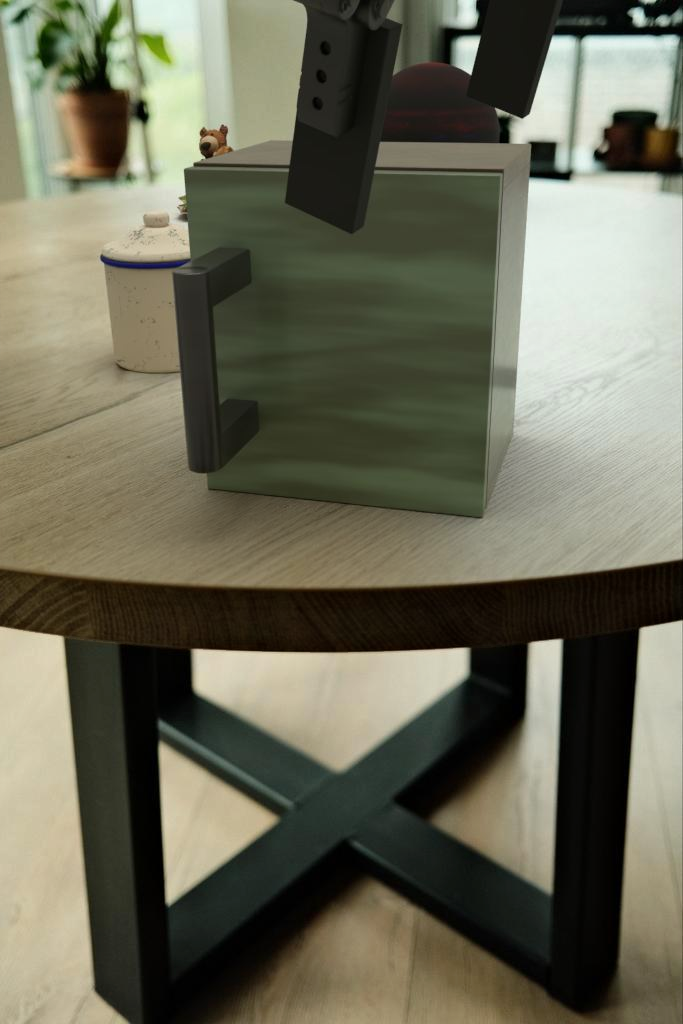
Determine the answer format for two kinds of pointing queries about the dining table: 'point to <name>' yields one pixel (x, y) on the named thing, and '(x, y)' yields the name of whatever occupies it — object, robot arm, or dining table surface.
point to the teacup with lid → (145, 293)
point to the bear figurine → (210, 150)
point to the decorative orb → (436, 108)
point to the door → (341, 339)
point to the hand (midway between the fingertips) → (420, 154)
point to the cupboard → (511, 246)
